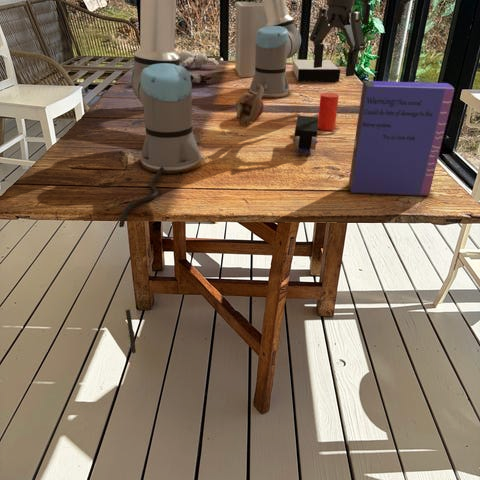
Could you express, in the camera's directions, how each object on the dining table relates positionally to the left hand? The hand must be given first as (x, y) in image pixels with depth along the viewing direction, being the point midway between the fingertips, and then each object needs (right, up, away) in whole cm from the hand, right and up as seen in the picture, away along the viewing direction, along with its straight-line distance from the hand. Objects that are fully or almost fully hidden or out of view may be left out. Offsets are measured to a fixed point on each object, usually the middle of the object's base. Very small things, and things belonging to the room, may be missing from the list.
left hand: (333, 71), depth 140 cm
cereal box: (+7, -38, -30) cm, 49 cm away
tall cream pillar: (-21, +27, +77) cm, 85 cm away
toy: (-52, +32, +85) cm, 105 cm away
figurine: (-54, +15, +56) cm, 79 cm away
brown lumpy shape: (-25, -11, +15) cm, 31 cm away
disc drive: (+6, +24, +73) cm, 77 cm away
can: (0, -14, +10) cm, 17 cm away
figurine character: (-9, -24, -7) cm, 27 cm away
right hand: (+23, +28, +31) cm, 48 cm away
